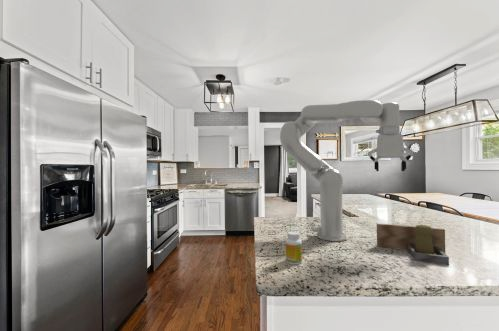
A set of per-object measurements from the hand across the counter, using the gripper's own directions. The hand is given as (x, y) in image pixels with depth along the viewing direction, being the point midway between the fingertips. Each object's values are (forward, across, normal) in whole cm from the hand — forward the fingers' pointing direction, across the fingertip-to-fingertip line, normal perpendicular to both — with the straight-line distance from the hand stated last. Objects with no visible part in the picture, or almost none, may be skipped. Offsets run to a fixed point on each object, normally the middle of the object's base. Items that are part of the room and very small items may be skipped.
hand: (389, 171), depth 103 cm
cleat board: (+30, +5, -15) cm, 34 cm away
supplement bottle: (+31, -33, -39) cm, 60 cm away
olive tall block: (+31, +8, -15) cm, 35 cm away
